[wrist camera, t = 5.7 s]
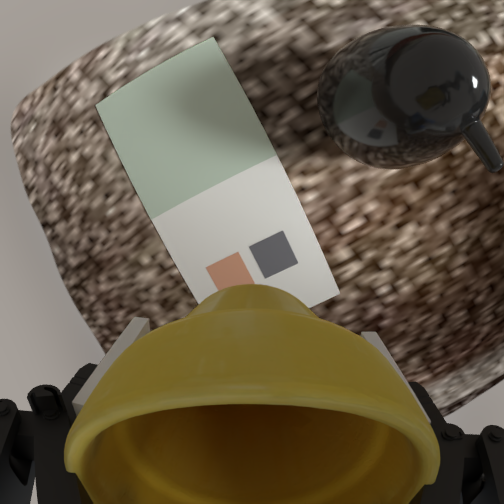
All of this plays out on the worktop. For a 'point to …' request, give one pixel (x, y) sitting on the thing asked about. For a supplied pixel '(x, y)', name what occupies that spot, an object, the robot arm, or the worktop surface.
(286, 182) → the color swatch card
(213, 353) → the plant pot
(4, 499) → the robot arm
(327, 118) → the pump dispenser
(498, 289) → the worktop surface
